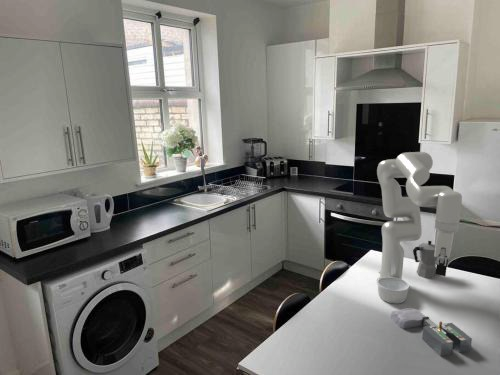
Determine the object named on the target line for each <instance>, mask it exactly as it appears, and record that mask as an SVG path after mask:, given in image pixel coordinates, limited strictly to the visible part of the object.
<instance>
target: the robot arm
mask: <svg viewBox="0 0 500 375" xmlns="http://www.w3.org/2000/svg"><path fill="white" fill-rule="evenodd" d="M433 162H434V161H433V158H432V156H431V155H430V153H427V152H426V151H415V152H414V151H413V152H411V151H409V152H402V153H400V154H399V155H397V157H396V158H393V159H392V158H391V159H389V158H388V159H386V160H382V161H380V162H379V163H378V164H377V165H378V166H377V169H376V175H377V179H378V182H379V185H380V188H381V196H382V197H381V198H382V210H383V213H384V216H385V217H387V218H390V219H391V218H392V219H396V218H397V219H398V218H399V219H401V218H406V220H404V219H403V220H391V221H386V222H384V223H382V226H381V237H382V252H381V264H380V266H381V267H380V270H378V274H379V276H378V278H377V279H376V283H377V282H378V280H379V279H380V278H383V277H395V278H399V279H402V278H403V269H404V268H403V267H404V259H405V258H404V257H405V249H404V248H403V246H402V244H400V243H401V242H412V241H413V242H414V241H418V240H420V239H421V237H422V233H423V232H422V230H423V229H422V218H421V208H420V207H423V208H425V207H427V208H428V207H436V213H435V220H434V229H435V230H436V236H435V244H434V245H435V253H434V256H435V257H437V263H436V275H437V276H441V277H446V275H447V266H448V262H449V259H450V256H451V252H452V247H453V243H454V236H455V233H458V232H459V225H460V218H461V210H462V202H463V195H462V193H460V192H458V191H455V190H454V189H452V188H451V187H450V186H447V185H430V186H429V185H425V186H423V185H424V184H426V182H428V180H429V179H430V177H431V176H430V173H431V172H430V170H431V169H432V167H433V165H434V164H433ZM395 178H396V179H399V178H401V179H403V178H406V179H407V180H406V182H405V190H406V194H407V196H402V187H401V186H400V184H399V182H398V181H397V180H396V179H395ZM402 280H403V279H402Z"/></svg>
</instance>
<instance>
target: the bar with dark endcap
mask: <svg viewBox="0 0 500 375" xmlns="http://www.w3.org/2000/svg"><path fill="white" fill-rule="evenodd" d="M442 324H443V321H442V320H441V321H439V325H437V324H436V323H435V322H434V321H433V320H432V319H430V317H429V316H426V317H423V318H422V326H424V327H426V326H431V325H434V326H435V327H437V329H439V330H440V331H442V332H443V333H444V334H445V335H446V336H447V333H445V332H444V331H443V330H442Z"/></svg>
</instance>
